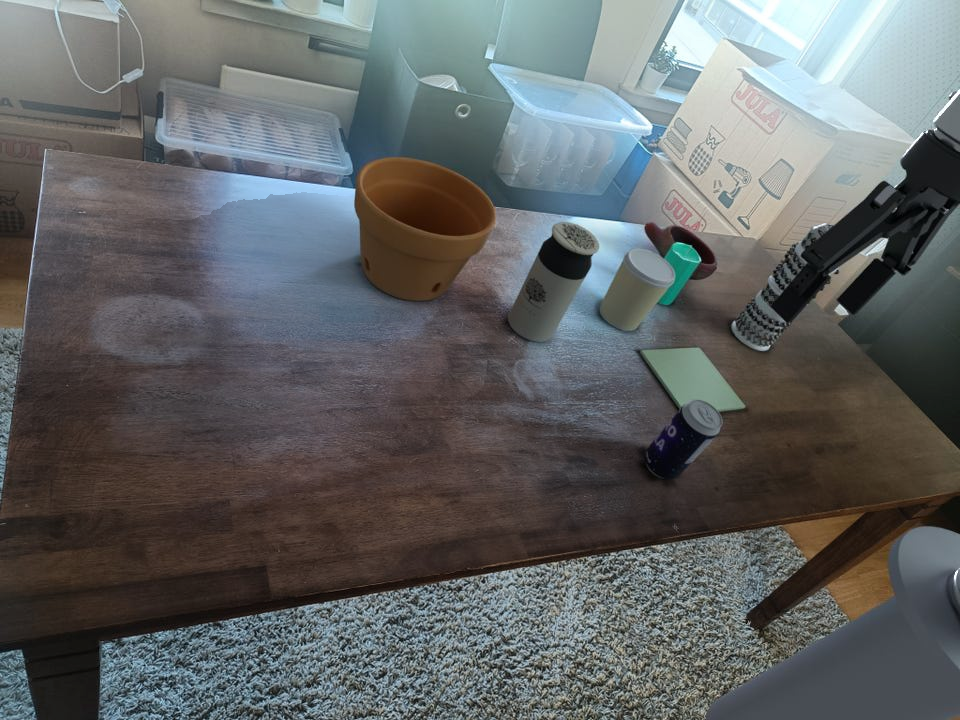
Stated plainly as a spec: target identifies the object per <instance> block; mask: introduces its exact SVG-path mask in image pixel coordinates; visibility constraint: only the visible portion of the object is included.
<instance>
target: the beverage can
mask: <svg viewBox="0 0 960 720" xmlns="http://www.w3.org/2000/svg"><path fill="white" fill-rule="evenodd" d="M722 426H723V416H722V415H721V413H720V412H718V411H717V409H716V408H715V407H713V406H712V405H711V404H709V403H708V402H706V401H703V400H699V399H695V400H692V401H690V402H689V403H687V404H684V405H683V406H682V407H681V408H680V409H679V410H678V411H677V412H676V413H675V414H674V415H673V416H672V418H671V419H670V420H669V421H668V423H667V424H666V425H665V426H664V427H663V429H662V430H661V431H660V433H658V435H656V437H655V438H654V439H653V441H652V442H651V443H650V444H649V445H648V447H647V448H645V451H644V452H643V453H644V455H643V457H644V461H645V465H646V467H647V469H648V470H649V471H650V472H651V474H653V475H654V476H655V477H657V478H659V479H664V480H670V481H671V480H672V481H673V480H676V479H678V478H679V477H680V476H681V475H682V474H683V473H684V471H685V470H686V469H687V468H688V467H689V466H690V465H692V463H693V462H694V461H695V460H696V458H698V457H699V456H700V454H702V452H704V450H705V449H706V448H707V447H708V446H709V445H710V444H711V443H712V442H713V440H714V439H715V438H716V437H717V436H718V435H719V434H720V431H721V427H722Z"/></svg>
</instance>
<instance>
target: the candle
mask: <svg viewBox="0 0 960 720" xmlns="http://www.w3.org/2000/svg"><path fill="white" fill-rule="evenodd" d="M664 259H665V260H666V261H667V262H668V263H669V264H670V265H671V266H672V268H673V269H674V272H675V280H674V283H673V284H672V285H671V286H670V287H669V288H668V289H667V291H666V292H665V293H664V294H663V296H662V297H661V298H660V300H659V301H658V302H657V304H661V305H665V306H669V305H671V304H672V303H673V302H674V300H675V299H676V298H677V297H678V295H679V293H680V292H681V290H682V289H683V287H684V286H685V285H686V284H687V282H688V280H690V279H689V278H690V276H691V275H692V273H693V272H694V270H695V269H696V268H697V266H698V265H699V263H700V262H701V258H700V256H699V255H698V253H697V252H696V251H695V250H694V249H693V248H692V245H691V246H690V245H687V244H684V243H678V242H676V243H674V244H673V245H672V246H671V248H670V250H669V251H668V253H667V254H666V256H665V257H664Z"/></svg>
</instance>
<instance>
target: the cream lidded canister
mask: <svg viewBox="0 0 960 720" xmlns="http://www.w3.org/2000/svg"><path fill="white" fill-rule="evenodd" d="M622 259H623V260H622V261H621V263H620V265H619V267H618V269H617V271H616V273H615V275H614V277H613V279H612V281H611V283H610V285H609V286H608V289H607V291H606V293H605V295H604V297H603V299H602V301H601V303H600V306H599V313H600V315H601V317H602V318H603V319H604V321H605V322H606V323H608V324H609V325H610V326H612V327H614V328H616V329H618V330H621V331H625V332H631V331H632V332H633V331H634V330H636V329H637V328H638V327H639V326H640V325H641V324H642V323H643V321H644V320H645V319H646V317H647V316H648V315H649V313H650V312H651V311H652V310H653V309H654V307H655V306H656V305H657V304H658V301H659V300H660V298H661V297H662V296H663V294H664V293H665V292H666V291H667V289H668V288H669V287H670V286H671V285H672V284H673V283H674V280H675V272H674V269H673V268H672V266H671V265H670V264H669V263H668V262H667V261H666V260H665V259H663V258H662V257H661V256H660V254H657V253H655V252H654V251H651V250H649V249H645V248H632V249H630V250H629V251H627V252H626V253H625V254H624V256H623V258H622Z"/></svg>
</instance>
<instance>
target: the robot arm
mask: <svg viewBox="0 0 960 720" xmlns="http://www.w3.org/2000/svg"><path fill="white" fill-rule="evenodd" d="M948 101H949V102H948V103H947V104H946V105H945V106H944V108H942V110H941V111H940V112H939V113H938V115H937V116H936V117H935V118H934V120H933V126H934V129H927V130H925V131H922V133H921V134H920V135H918V138H916V139H915V141H914V142H913V143H912V144H911V145H910V147H909V148H908V149H907V150H906V152H905V153H904V154H903V155H902V156H901V157H900V160H899V163H900V167H901V168H902V170H904V171H905V172H906V173H905V177H904V178H903V179H901V181H900V182H899V183H897V185H895V186H893V185H892V184H891V183H889V182H888V181H886V180H881V182H879V183H878V184H877V185H876V186H875V187H874V188H873V189H872V190H871V191H870V193H868V195H867V196H866V197H865V198H864V199H863V200H862V201H861V202H859V203H858V204H857V205H856V206H855V207H854V208H852V209H851V210H849V212H848V213H846V214H845V215H844V216H843V217H842V218H840V219H839V220H838V221H837V222H836V223H835V224H834V225H833V227H831V228H830V229H829V230H828V231H827V232H826V233H824V234H823V235H822V236H821V237H820V238H818V239H817V240H816V241H815V242H814V243H813V244H811V245H810V246H809V247H808V248H807V249H806V250H804V251H803V252H802V253H801V257H802V258H803V259H804V260H805V261H806V262H807V264H806V265H805V266H804V267H803V269H802V270H801V271H800V272H799V273H798V275H797V276H796V277H795V278H794V279H793V280H792V282H791V283H790V284H789V285H788V286H787V288H786V289H785V290H784V291H783V292H782V293H781V295H780V296H779V297H778V298H777V299H776V301H775V302H774V303H773V304H772V305H771V306H770V307H771V308H772V309H773V310H774V311H775V312H776V313H777V314H778V315H779V316H780V317H781V318H782V319H783V320H784V321H785V322H786V323H791V322H792V323H793V322H794V320H795V319H796V318H797V317H798V316H799V315H800V313H802V311H803V310H804V309H805V308H806V307H807V306H808V305H809V304H808V303H809V302H810V301H812V300H814V299H813V298H814V297H815V295H816V294H817V295H818V293H819V292H821V291H820V290H821V289H822V288H823V286H826V285H827V284H826V283H827V282H828V281H829V280H830V279H831V280H832V276H831V274H832V273H831V272H833V271H834V270H835V269H837V268H838V267H839V268H840V267H842V266H843V265H844V264H846V263H847V262H849V261H850V260H852V259H854V257H855V256H857V255H858V254H860V253H862V252H863V251H864V250H865V249H867V248H869V247H870V246H871V245H872V244H874V243H876V242H877V241H879V240H880V239H887V242H886V244H885V245H884V246H885V247H884V249H883V252H882V254H881V257H880V258H878V257H875V258H874V259H873V260H871V262H870V263H869V264H868V265H867V266H866V267H865V268H864V269H863V270H862V271H861V272H860V273H859V275H857V277H855V279H854V280H853V281H852V282H851V283H850V284H849V286H848V287H846V289H845V290H843V292H842V293H841V294H840V295H839V296H838V297H837V298H836V299H835V300H836V301H837V302H838V303H839V304H840V305H841V306H842V307H843V308H844V309H845V310H847V311H848V313H850V314H851V315H853V316H854V315H857V314H858V313H859V312H860V311H861V310H862V309H863V308H864V307H865V306H866V304H867V303H869V301H870V300H872V299H873V298H874V296H875V295H877V293H878V292H879V291H881V289H883V287H884V286H886V284H887V283H888V282H889V281H890V280H891V279H892V278H893V277H894V276H895V275H896V274H897V273H898V274H900V275H901V276H902V277H903V276H906V275H907V274H909V273H910V272H911V271H912V268H911V267H912V266H914V265H916V264H917V262H918V261H919V259H921V257H922V255H923V254H924V252H925V251H926V249H927V248H928V247H929V245H930V244H931V242H932V241H933V240H934V239H935V237H936V235H937V234H938V232H939V231H940V229H941V228H942V227H943V225H944V224H945V222H946V221H947V220H948V218H949V217H950V216H951V214H952V213H953V212H954V211H955V210H956V209H957V208H958V207H959V206H960V89H959V90H958V91H953V92H952V93H951V94H950V95H949V96H948ZM822 257H823V258H822ZM839 268H838V269H839ZM830 273H831V274H830ZM828 274H830V275H828ZM817 295H816V296H817ZM810 303H811V302H810ZM807 304H808V305H807ZM792 323H791V324H792ZM946 587H947V593H948V597H949V600H950V602H951V605H952V607H953V609H954V611H955V613H956V614H957V616H958V618H959V619H960V568H959V569H958V570H956V571H954V572H952V573H951V574H950V575H949V576H948V579H947V584H946Z"/></svg>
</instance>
